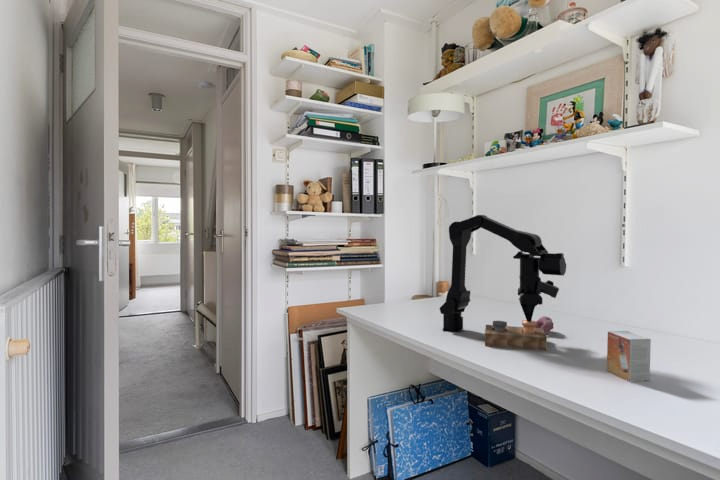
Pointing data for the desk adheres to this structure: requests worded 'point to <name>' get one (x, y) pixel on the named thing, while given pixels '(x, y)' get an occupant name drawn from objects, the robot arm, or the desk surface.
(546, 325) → the video game controller
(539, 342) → the walnut block
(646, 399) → the desk surface
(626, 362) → the small box
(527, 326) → the terracotta plug
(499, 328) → the grey plug
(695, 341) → the desk surface
